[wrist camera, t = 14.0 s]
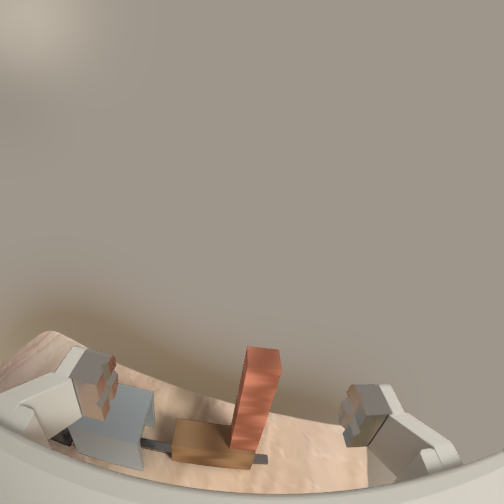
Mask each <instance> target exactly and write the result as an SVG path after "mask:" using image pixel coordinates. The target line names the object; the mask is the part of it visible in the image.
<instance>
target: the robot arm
mask: <svg viewBox="0 0 504 504" xmlns="http://www.w3.org/2000/svg"><path fill="white" fill-rule="evenodd" d="M115 366H116V360H115V357H114V356H113V355H109V354H105V353H102V352H98V351H94V350H91V349H86V348H83V347H80V346H77V345H75V346H73V347H72V348H71V350H70V351H69V353H68V354H67V355H66V357H65V358H64V360H63V361H62V363H61V364H60V365H59V367H58V368H57V370H56V371H55V373H53V372H50V373H47V374H45V375H43V376H40V377H38V378H36V379H33V380H31V381H28V382H26V383H24V384H21V385H19V386H17V387H14V388H12V389H9V390H7V391H4V392H2V393H0V504H504V449H503V450H501V451H499V452H496V453H494V454H491V455H489V456H486V457H484V458H481V459H478V460H476V461H473V462H470V463H467V464H464V465H463V463H462V461H461V460H460V458H459V456H458V454H457V452H456V450H455V448H454V446H453V445H452V443H451V442H450V441H448V440H447V439H445V438H444V437H442V436H441V435H439V434H438V433H436V432H435V431H433V430H432V429H431V428H429V427H428V426H426V425H425V424H423V423H422V422H420V421H419V420H417V419H416V418H414V417H413V416H412V415H410V414H409V413H404V411H403V409H402V407H401V405H400V403H399V401H398V399H397V397H396V395H395V393H394V391H393V389H392V387H391V386H390V385H389V384H376V385H375V384H368V385H351V386H350V387H349V388H348V390H347V392H346V393H347V396H348V397H347V398H346V399H344V400H343V401H342V403H341V405H340V407H339V413H338V416H339V422H340V425H341V426H342V427H344V428H345V431H344V433H343V436H344V440H345V443H346V446H347V447H367V446H368V448H369V449H370V450H371V452H372V453H374V454H375V456H377V458H379V460H380V461H382V463H383V464H384V465H386V467H387V468H388V469H389V470H391V472H393V474H395V476H397V478H396V479H395V480H394V481H393V482H392V483H391V484H386V485H381V486H375V487H368V488H361V489H354V490H345V491H335V492H323V493H305V494H254V493H236V492H224V491H214V490H205V489H197V488H190V487H184V486H177V485H172V484H166V483H161V482H156V481H151V480H147V479H142V478H138V477H134V476H130V475H126V474H122V473H119V472H115V471H112V470H108V469H105V468H101V467H98V466H95V465H92V464H89V463H86V462H83V461H80V460H77V459H75V458H72V457H69V456H66V455H64V454H61V453H59V452H56V451H54V450H52V448H51V446H50V444H49V442H48V440H49V439H50V438H52V437H53V436H55V435H56V434H58V433H59V432H61V431H62V430H64V429H65V428H67V427H68V426H69V425H71V424H72V423H74V422H75V421H77V420H78V419H79V418H81V417H82V415H83V416H86V417H90V418H93V419H97V420H101V421H105V419H106V416H107V414H108V412H109V409H110V405H109V401H111V400H113V399H114V398H115V395H116V392H117V388H118V374H117V373H116V372H115V370H114V368H115Z"/></svg>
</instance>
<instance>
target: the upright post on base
mask: <svg viewBox="0 0 504 504" xmlns="http://www.w3.org/2000/svg"><path fill="white" fill-rule="evenodd" d="M281 371H282V368H281V361H280V354H279V350H276V349H266V348H258V347H249V346H247V351H246V355H245V361H244V365H243V371H242V376H241V380H240V385H239V390H238V395H237V400H236V404H235V409H234V414H233V419H232V423H231V426H229V425H220V424H212V423H205V422H198V421H191V420H185V419H179V418H177V419H176V424H175V429H174V434H173V439H172V444H171V450H172V460H173V461H178V462H184V463H191V464H197V465H205V466H213V467H222V468H233V469H246V470H250V468H251V466H252V463H253V460H254V457H255V451H256V449H257V446H258V444H259V441H260V438H261V435H262V432H263V429H264V426H265V423H266V420H267V417H268V413H269V410H270V407H271V404H272V401H273V398H274V394H275V391H276V388H277V385H278V382H279V378H280V375H281Z"/></svg>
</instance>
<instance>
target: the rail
mask: <svg viewBox="0 0 504 504" xmlns="http://www.w3.org/2000/svg"><path fill="white" fill-rule="evenodd" d="M140 446H141V448H145V449H149V450H154V451H159V452H164V453H169V454H172V450H171V444H167V443H162V442H157V441H152V440H147V439H143V438H141V439H140ZM252 464H268V456H267V455H256V454H255V457H254V460H253V463H252Z"/></svg>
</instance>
